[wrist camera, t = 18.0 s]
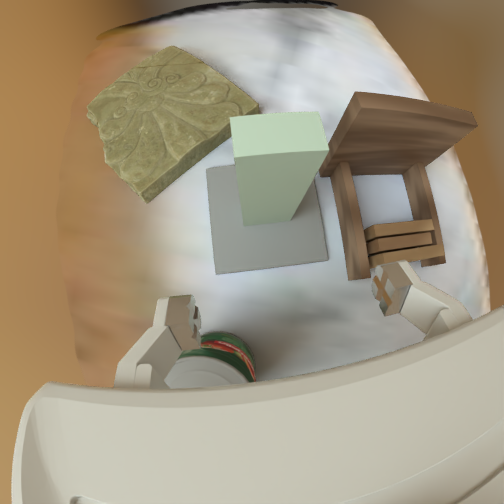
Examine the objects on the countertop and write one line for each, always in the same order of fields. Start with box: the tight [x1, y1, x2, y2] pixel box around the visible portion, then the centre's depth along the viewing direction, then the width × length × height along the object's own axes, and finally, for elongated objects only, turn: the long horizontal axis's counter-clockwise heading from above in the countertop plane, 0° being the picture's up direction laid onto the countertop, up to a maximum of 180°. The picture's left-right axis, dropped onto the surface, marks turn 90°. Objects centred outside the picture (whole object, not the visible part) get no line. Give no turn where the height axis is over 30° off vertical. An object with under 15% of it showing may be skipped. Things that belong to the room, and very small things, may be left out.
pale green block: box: [230, 112, 329, 226], centre depth 21 cm, size 3×5×16 cm, turn 97°
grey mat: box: [206, 165, 328, 275], centre depth 30 cm, size 12×12×1 cm
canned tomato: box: [164, 332, 256, 389], centre depth 22 cm, size 8×8×11 cm
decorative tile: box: [87, 46, 259, 204], centre depth 30 cm, size 19×20×4 cm
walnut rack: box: [319, 92, 478, 280], centre depth 23 cm, size 14×14×14 cm
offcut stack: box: [364, 219, 445, 269], centre depth 26 cm, size 4×8×6 cm, turn 97°
